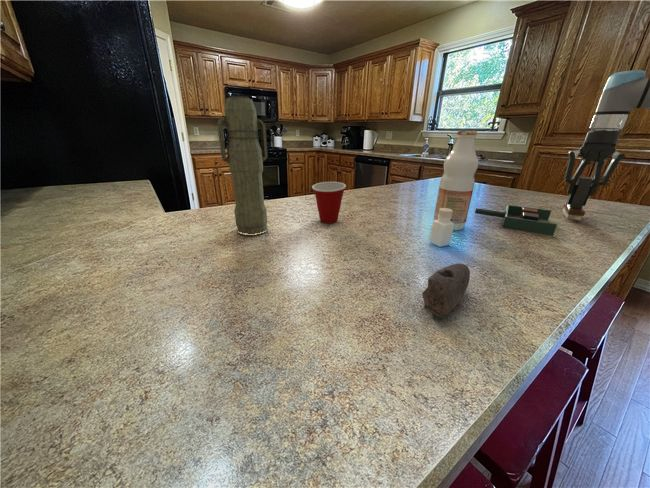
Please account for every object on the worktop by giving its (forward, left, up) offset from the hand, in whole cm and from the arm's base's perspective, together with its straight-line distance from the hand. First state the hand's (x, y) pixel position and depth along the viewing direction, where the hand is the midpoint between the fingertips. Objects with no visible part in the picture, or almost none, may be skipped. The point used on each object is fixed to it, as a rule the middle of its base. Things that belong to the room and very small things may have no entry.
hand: (575, 204), depth 92 cm
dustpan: (+18, +16, -5) cm, 24 cm away
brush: (0, 0, -4) cm, 4 cm away
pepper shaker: (+33, +51, -5) cm, 61 cm away
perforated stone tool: (+26, +78, -5) cm, 82 cm away
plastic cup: (+68, +52, -5) cm, 86 cm away
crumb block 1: (+13, +13, -5) cm, 19 cm away
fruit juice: (+34, +34, -5) cm, 48 cm away
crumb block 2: (+13, +20, -5) cm, 24 cm away
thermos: (+81, +73, -5) cm, 109 cm away
